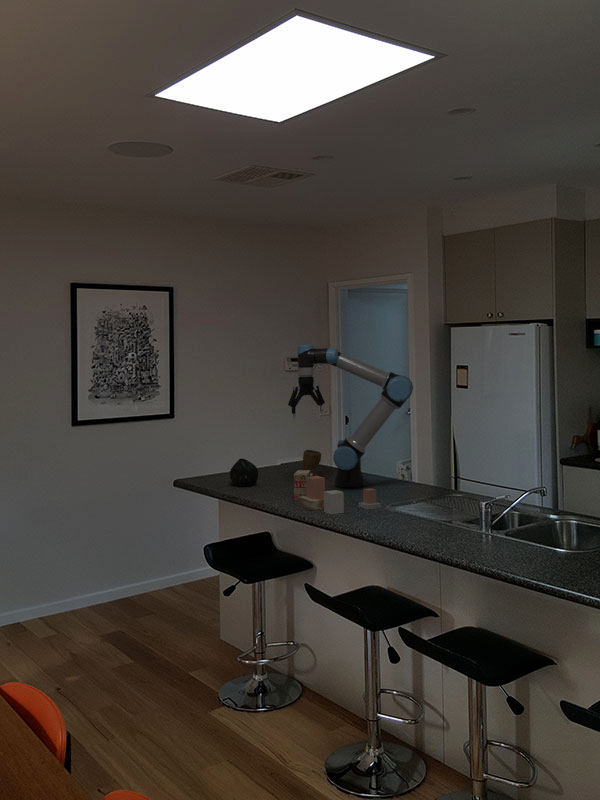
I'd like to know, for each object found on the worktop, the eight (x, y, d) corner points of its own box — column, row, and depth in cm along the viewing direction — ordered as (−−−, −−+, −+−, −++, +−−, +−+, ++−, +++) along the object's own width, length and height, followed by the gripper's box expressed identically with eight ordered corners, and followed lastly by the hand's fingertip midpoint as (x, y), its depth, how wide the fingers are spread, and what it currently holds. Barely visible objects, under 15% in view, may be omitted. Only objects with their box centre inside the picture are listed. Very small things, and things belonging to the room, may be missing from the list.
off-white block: (336, 511, 324) (335, 490, 323) (343, 513, 318) (343, 492, 318) (324, 512, 321) (323, 491, 320) (331, 515, 316) (331, 493, 315)
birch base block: (320, 502, 341) (320, 494, 341) (334, 507, 330) (334, 498, 330) (297, 505, 335) (297, 496, 335) (310, 510, 324) (310, 501, 324)
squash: (259, 471, 397) (240, 451, 393) (267, 477, 383) (247, 456, 379) (239, 490, 395) (220, 470, 390) (246, 496, 381) (227, 476, 376)
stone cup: (324, 479, 404) (324, 451, 403) (303, 480, 400) (303, 452, 399) (315, 474, 418) (314, 447, 417) (294, 476, 415) (294, 448, 414)
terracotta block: (318, 495, 336) (317, 475, 336) (325, 498, 331) (324, 477, 331) (306, 497, 333) (306, 477, 333) (313, 499, 328) (313, 479, 328)
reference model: (371, 505, 334) (371, 487, 334) (381, 508, 328) (380, 489, 328) (358, 507, 331) (358, 488, 331) (367, 509, 325) (367, 491, 324)
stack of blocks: (300, 492, 368) (300, 466, 367) (313, 492, 367) (313, 467, 366) (293, 500, 347) (293, 474, 346) (307, 501, 346) (306, 474, 345)
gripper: (322, 375, 381) (323, 417, 382) (280, 377, 367) (281, 420, 368) (331, 375, 374) (332, 418, 376) (288, 377, 361) (289, 421, 362)
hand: (307, 419), depth 372 cm, fingers open, 13 cm apart
